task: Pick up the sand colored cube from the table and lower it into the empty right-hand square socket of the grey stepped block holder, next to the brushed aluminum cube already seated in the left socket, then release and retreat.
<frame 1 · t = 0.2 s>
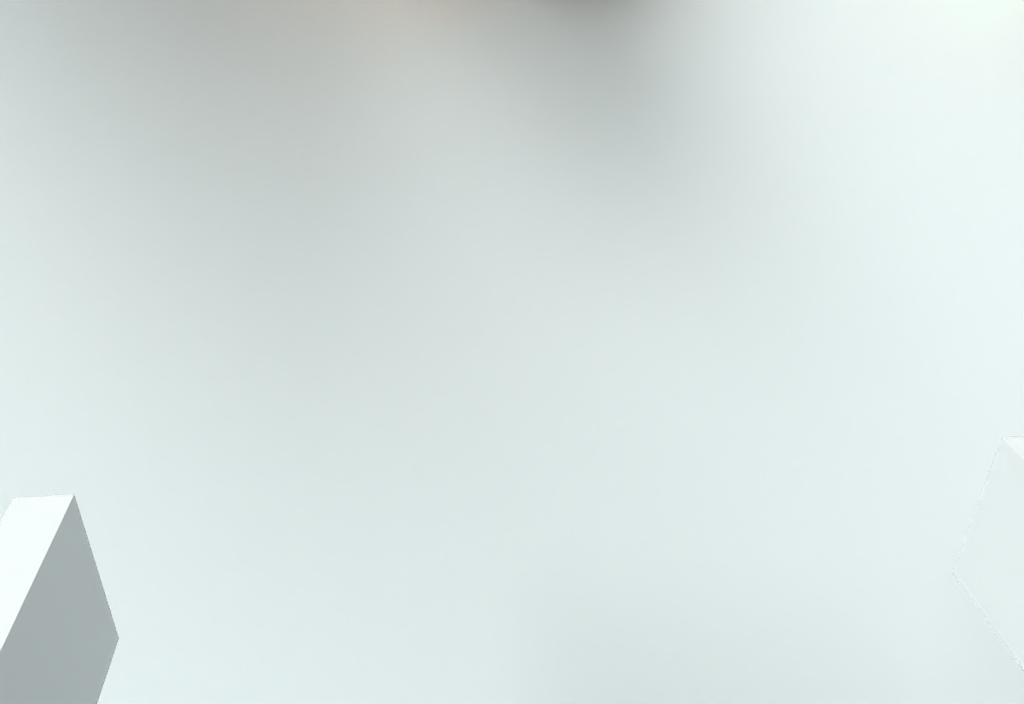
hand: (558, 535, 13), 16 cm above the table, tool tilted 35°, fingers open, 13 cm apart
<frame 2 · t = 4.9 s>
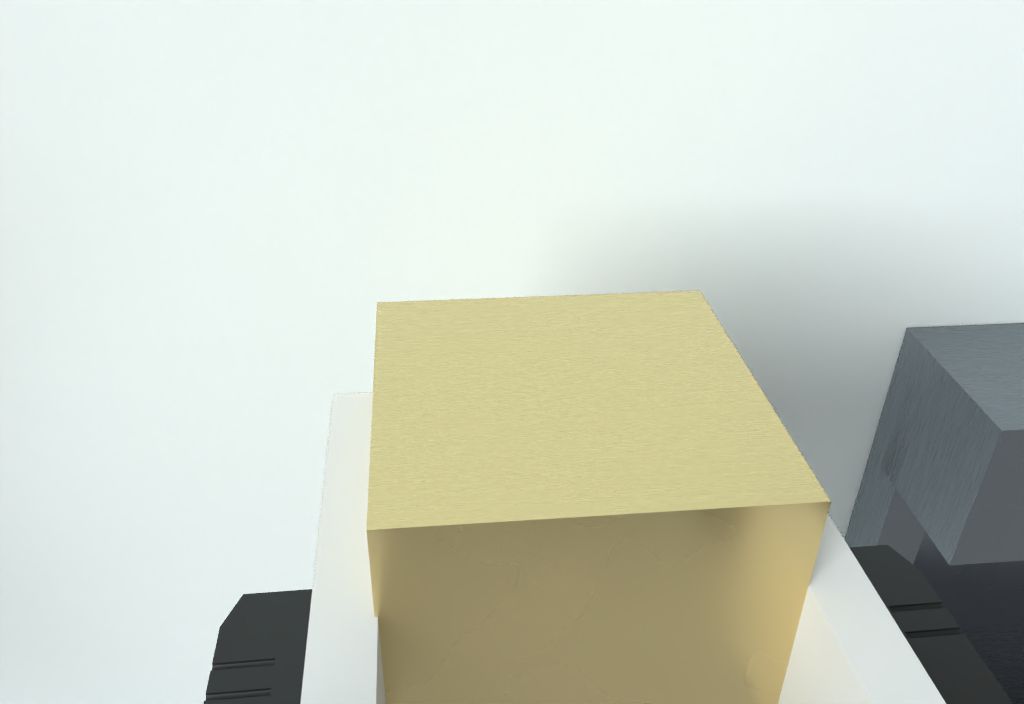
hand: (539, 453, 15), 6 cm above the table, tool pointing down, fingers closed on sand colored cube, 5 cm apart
sand colored cube: (536, 428, 15), point 5 cm above the table, touching gripper
grey stepped block holder: (937, 691, 29), on the table
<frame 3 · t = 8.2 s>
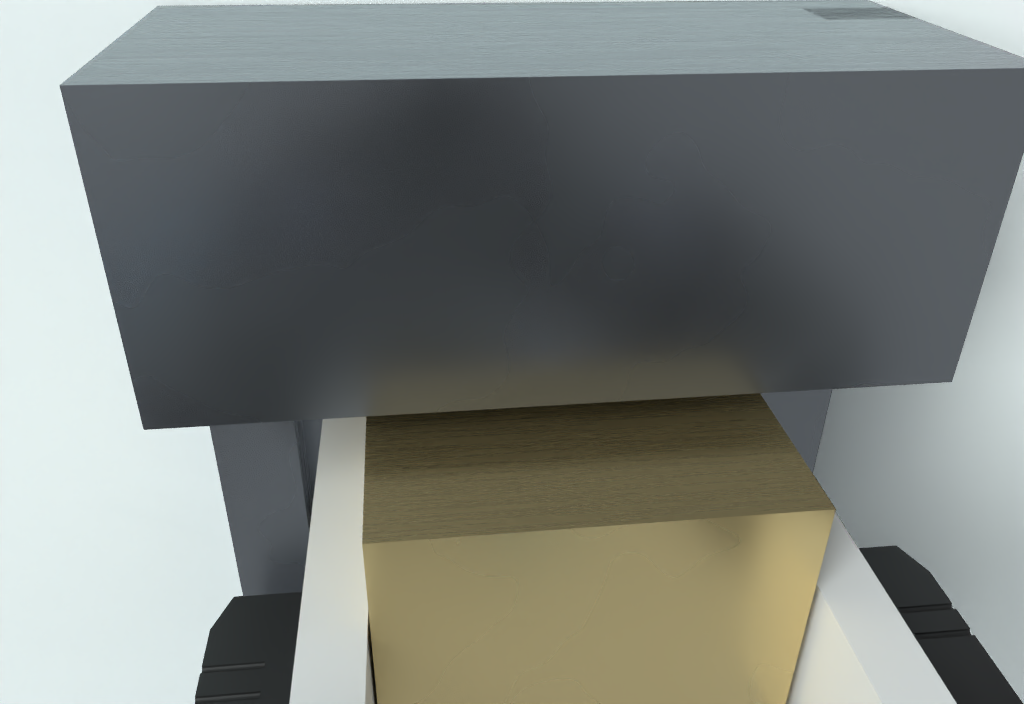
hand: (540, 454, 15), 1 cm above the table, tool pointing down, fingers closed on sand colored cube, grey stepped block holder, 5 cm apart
sand colored cube: (532, 437, 15), point 1 cm above the table, touching gripper, grey stepped block holder
grey stepped block holder: (514, 698, 19), on the table
when the fingers open (1 cm above the table, at t = 9.5 s): sand colored cube stays where it is, resting on grey stepped block holder.
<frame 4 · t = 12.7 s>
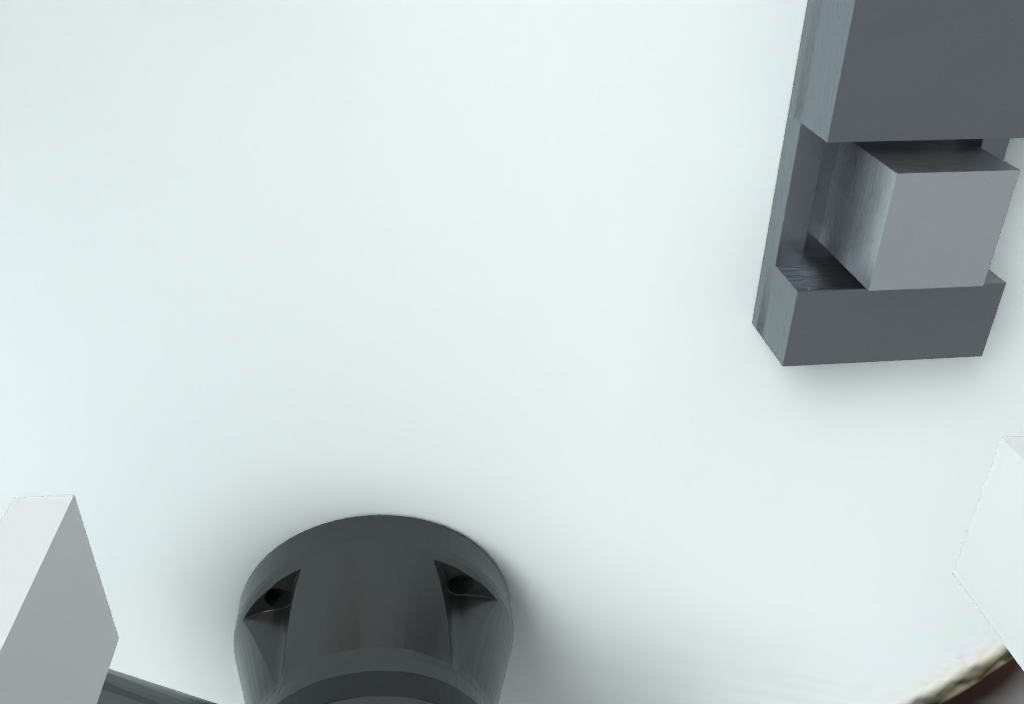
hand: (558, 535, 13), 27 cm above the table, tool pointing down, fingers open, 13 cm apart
grey stepped block holder: (915, 20, 37), on the table
brushed aluminum cube: (883, 187, 40), point 1 cm above the table, touching grey stepped block holder
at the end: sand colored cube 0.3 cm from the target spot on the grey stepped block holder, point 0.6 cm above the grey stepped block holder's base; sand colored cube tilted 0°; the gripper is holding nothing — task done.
